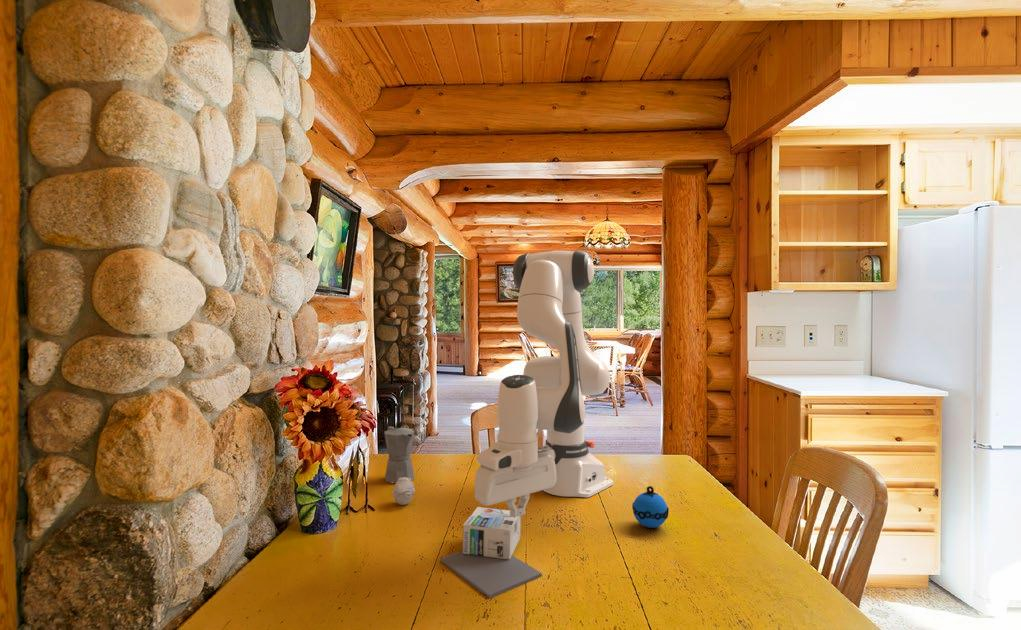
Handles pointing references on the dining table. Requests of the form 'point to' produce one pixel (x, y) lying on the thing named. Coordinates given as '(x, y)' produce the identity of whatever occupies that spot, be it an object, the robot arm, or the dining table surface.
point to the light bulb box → (491, 533)
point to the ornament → (650, 509)
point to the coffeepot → (398, 452)
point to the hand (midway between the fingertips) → (517, 515)
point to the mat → (490, 572)
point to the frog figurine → (403, 490)
